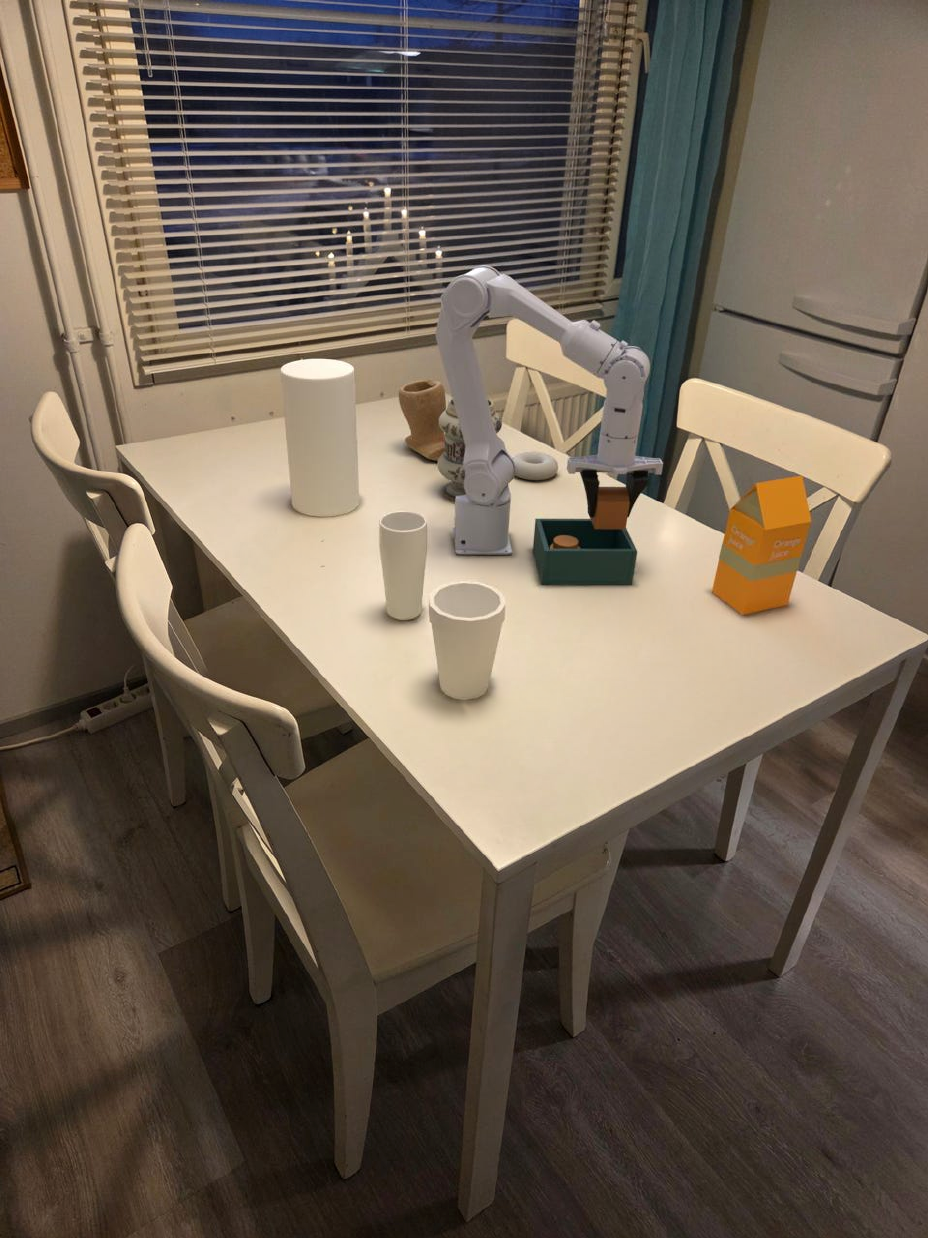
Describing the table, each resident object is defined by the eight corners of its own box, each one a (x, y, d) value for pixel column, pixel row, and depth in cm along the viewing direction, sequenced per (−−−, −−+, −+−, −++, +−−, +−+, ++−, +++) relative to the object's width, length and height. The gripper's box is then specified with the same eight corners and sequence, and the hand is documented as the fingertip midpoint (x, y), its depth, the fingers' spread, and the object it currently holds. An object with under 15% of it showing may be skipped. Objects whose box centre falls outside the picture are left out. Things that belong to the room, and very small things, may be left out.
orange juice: (710, 591, 131) (737, 473, 120) (755, 581, 134) (784, 465, 123) (743, 616, 125) (774, 493, 114) (788, 605, 128) (822, 485, 117)
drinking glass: (392, 628, 119) (390, 535, 111) (374, 606, 124) (371, 515, 116) (434, 618, 122) (435, 526, 113) (415, 596, 127) (415, 507, 118)
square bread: (594, 529, 130) (599, 494, 127) (588, 515, 135) (593, 481, 131) (625, 529, 131) (631, 494, 127) (619, 516, 135) (624, 481, 132)
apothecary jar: (486, 477, 167) (491, 389, 157) (508, 501, 157) (513, 409, 148) (429, 483, 164) (430, 393, 154) (447, 508, 154) (449, 414, 144)
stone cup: (390, 444, 181) (389, 376, 173) (439, 437, 186) (440, 370, 178) (419, 469, 170) (419, 397, 162) (470, 460, 174) (473, 390, 166)
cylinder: (279, 508, 152) (265, 372, 138) (314, 484, 161) (305, 354, 148) (338, 521, 148) (331, 382, 134) (371, 496, 158) (366, 364, 144)
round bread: (550, 573, 133) (552, 547, 131) (546, 558, 137) (548, 533, 135) (581, 573, 133) (584, 547, 131) (575, 558, 138) (578, 533, 135)
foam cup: (426, 664, 112) (427, 581, 105) (494, 663, 112) (499, 580, 105) (430, 708, 104) (431, 621, 97) (503, 706, 104) (509, 620, 97)
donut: (505, 480, 166) (554, 485, 165) (506, 464, 165) (556, 468, 163) (512, 462, 175) (560, 466, 173) (513, 447, 173) (561, 451, 171)
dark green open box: (541, 584, 131) (544, 550, 128) (532, 550, 141) (535, 518, 137) (632, 584, 132) (637, 551, 128) (617, 551, 142) (621, 518, 138)
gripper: (576, 441, 121) (567, 525, 128) (673, 442, 122) (658, 525, 129) (568, 425, 127) (560, 506, 134) (661, 426, 128) (648, 506, 135)
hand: (608, 514), depth 132 cm, fingers closed on square bread, 5 cm apart
